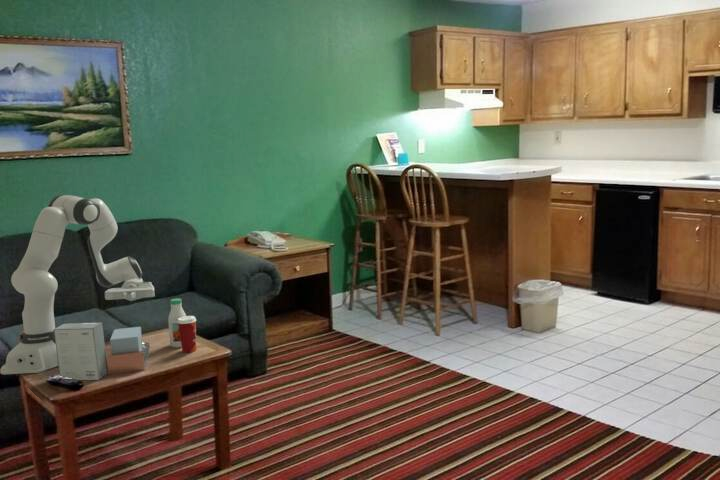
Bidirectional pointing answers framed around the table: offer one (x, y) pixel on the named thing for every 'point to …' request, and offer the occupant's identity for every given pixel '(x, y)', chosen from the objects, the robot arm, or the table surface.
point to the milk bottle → (175, 322)
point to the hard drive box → (81, 351)
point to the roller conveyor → (128, 360)
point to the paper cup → (187, 333)
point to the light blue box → (126, 340)
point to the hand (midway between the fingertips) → (128, 296)
